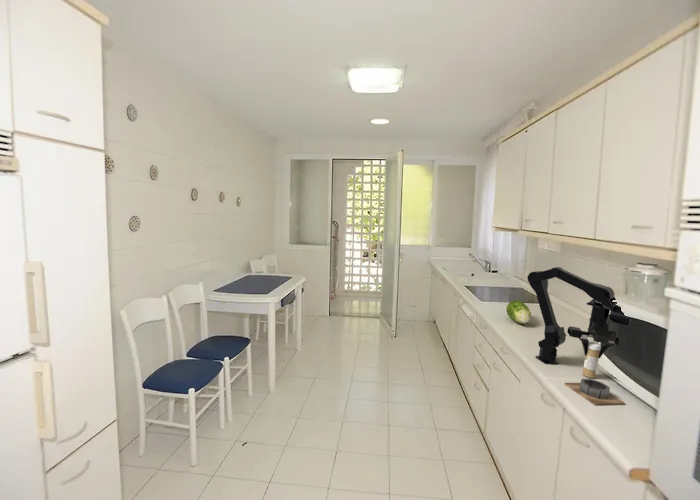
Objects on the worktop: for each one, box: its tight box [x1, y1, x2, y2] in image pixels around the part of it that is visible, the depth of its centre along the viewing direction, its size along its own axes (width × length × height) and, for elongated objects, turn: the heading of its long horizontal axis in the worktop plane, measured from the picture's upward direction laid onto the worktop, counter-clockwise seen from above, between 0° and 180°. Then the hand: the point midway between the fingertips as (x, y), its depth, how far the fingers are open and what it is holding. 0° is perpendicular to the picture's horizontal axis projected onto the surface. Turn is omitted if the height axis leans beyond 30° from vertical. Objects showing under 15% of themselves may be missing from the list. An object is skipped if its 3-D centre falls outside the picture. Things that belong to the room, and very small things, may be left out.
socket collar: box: [579, 378, 611, 399], centre depth 133 cm, size 9×9×3 cm
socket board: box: [564, 382, 626, 406], centre depth 133 cm, size 14×12×1 cm
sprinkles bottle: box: [581, 341, 601, 379], centre depth 147 cm, size 5×5×13 cm
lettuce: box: [506, 299, 532, 324], centre depth 210 cm, size 12×21×11 cm, turn 171°
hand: (592, 356), depth 147 cm, fingers closed on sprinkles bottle, 4 cm apart
